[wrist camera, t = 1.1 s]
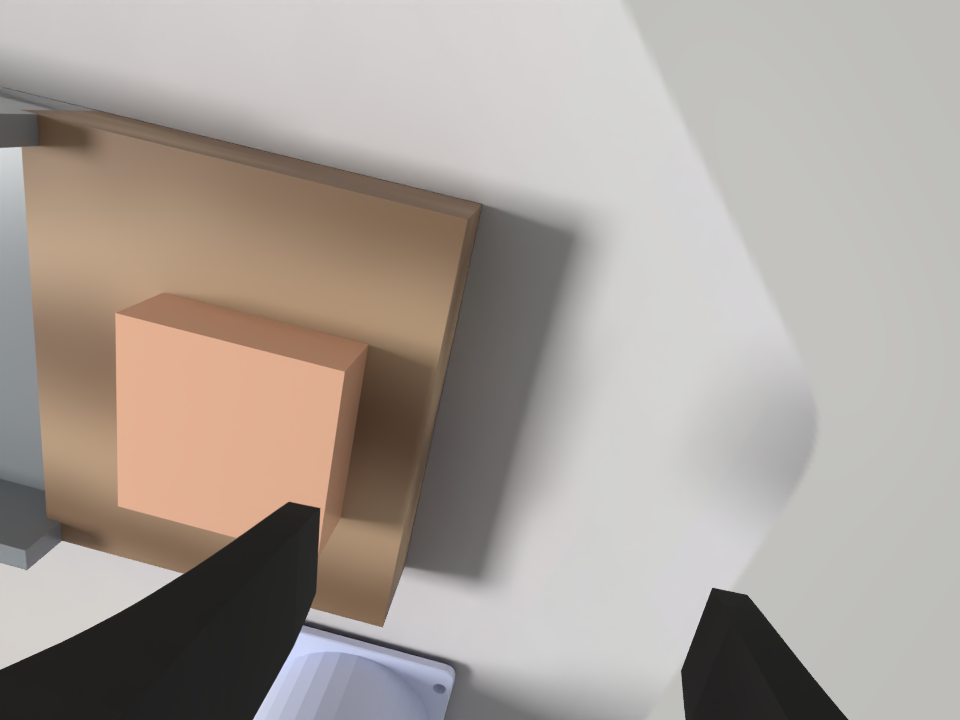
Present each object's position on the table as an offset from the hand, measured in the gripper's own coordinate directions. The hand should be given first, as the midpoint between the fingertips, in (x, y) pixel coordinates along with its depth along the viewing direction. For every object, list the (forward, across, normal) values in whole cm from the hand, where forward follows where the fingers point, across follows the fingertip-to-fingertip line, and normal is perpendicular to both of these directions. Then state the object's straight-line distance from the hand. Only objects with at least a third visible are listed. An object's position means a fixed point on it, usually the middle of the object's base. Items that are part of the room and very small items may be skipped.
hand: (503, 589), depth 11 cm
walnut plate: (+10, +9, +1) cm, 13 cm away
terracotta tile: (+7, +8, +1) cm, 10 cm away
